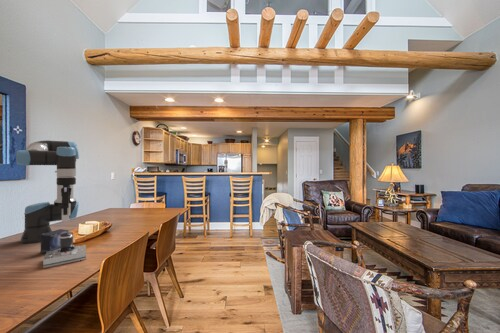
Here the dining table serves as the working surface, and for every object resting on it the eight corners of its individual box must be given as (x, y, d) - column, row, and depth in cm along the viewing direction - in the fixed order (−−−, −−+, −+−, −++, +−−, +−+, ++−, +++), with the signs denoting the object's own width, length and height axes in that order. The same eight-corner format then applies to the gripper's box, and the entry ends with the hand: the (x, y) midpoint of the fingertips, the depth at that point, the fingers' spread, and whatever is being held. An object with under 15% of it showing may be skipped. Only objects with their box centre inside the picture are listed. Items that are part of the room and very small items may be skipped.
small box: (49, 254, 117) (49, 235, 117) (39, 253, 119) (39, 234, 119) (69, 247, 128) (69, 229, 128) (60, 246, 129) (60, 228, 129)
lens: (60, 251, 112) (60, 233, 112) (73, 248, 115) (73, 231, 115) (59, 254, 107) (59, 236, 107) (72, 251, 111) (73, 234, 111)
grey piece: (46, 259, 111) (46, 249, 111) (85, 251, 121) (85, 242, 121) (43, 268, 101) (43, 257, 101) (86, 259, 111) (86, 249, 111)
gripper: (58, 176, 118) (58, 214, 119) (53, 178, 99) (53, 225, 99) (76, 175, 123) (76, 212, 123) (74, 178, 103) (74, 222, 103)
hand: (66, 218), depth 111 cm, fingers open, 13 cm apart
